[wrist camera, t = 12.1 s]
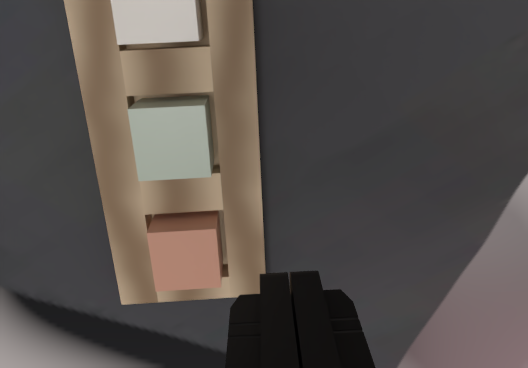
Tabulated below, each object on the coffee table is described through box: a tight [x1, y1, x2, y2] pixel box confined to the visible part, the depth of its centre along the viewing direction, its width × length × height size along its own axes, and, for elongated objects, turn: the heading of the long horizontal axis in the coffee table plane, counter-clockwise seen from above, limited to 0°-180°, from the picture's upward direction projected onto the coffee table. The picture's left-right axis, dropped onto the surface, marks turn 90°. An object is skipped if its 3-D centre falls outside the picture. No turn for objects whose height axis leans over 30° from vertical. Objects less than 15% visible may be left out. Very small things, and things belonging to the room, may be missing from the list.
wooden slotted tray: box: [64, 0, 265, 305], centre depth 33 cm, size 12×28×2 cm, turn 3°
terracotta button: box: [147, 210, 223, 292], centre depth 35 cm, size 5×5×4 cm
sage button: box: [127, 95, 214, 181], centre depth 31 cm, size 5×5×4 cm
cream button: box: [111, 0, 204, 45], centre depth 28 cm, size 5×5×4 cm
